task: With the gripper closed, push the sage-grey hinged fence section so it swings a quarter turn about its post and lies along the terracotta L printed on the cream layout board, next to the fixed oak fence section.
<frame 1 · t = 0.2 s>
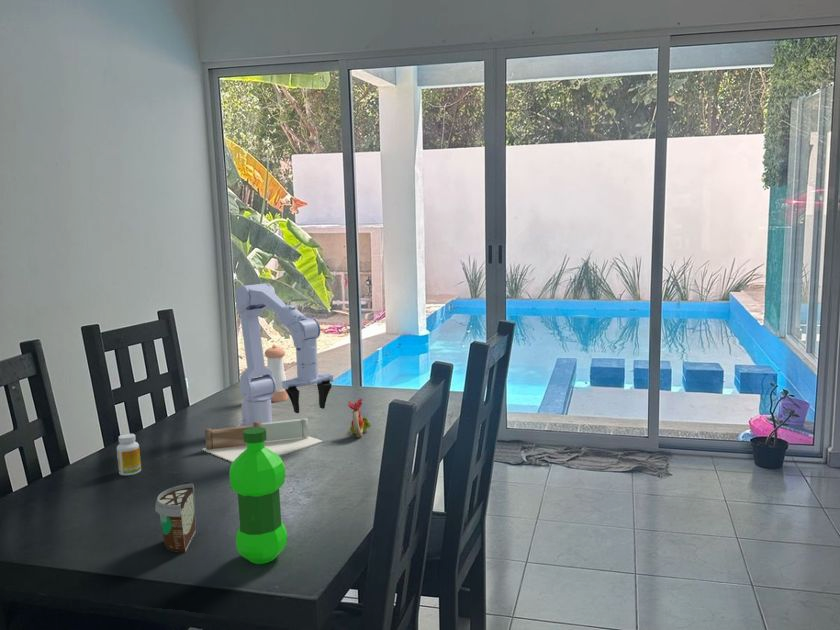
hand: (309, 410, 204), 10 cm above the table, tool pointing down, fingers open, 7 cm apart
plastic bottle: (262, 558, 139), on the table
supplement bottle: (130, 472, 187), on the table
food container: (175, 543, 146), on the table
pepper shaker: (277, 399, 256), on the table
layout board: (263, 446, 205), on the table
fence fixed: (258, 444, 206), resting on layout board
fence gate: (285, 429, 208), point 3 cm above the table, hinge at 0.0°
bird rattle: (359, 435, 212), on the table
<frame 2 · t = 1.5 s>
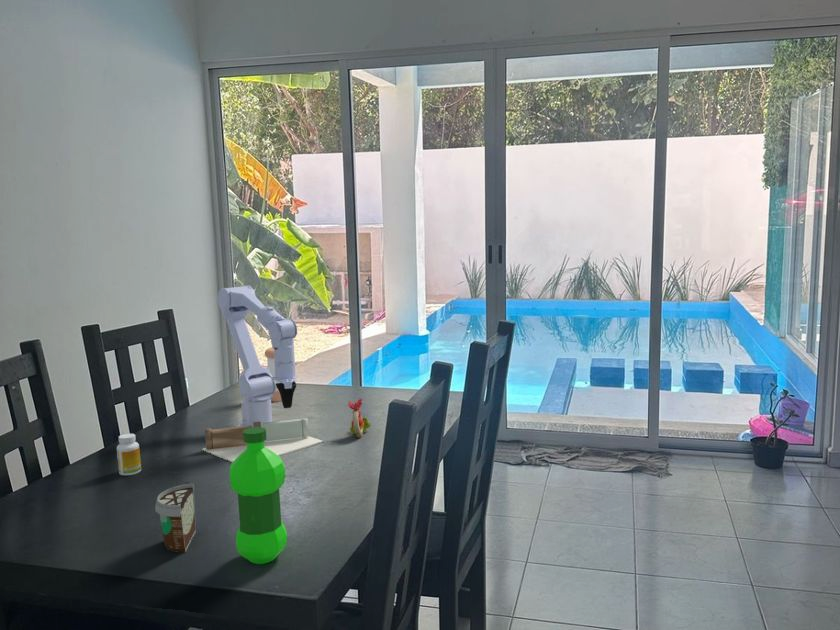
hand: (287, 407, 211), 9 cm above the table, tool pointing down, fingers closed
nothing on the table moved.
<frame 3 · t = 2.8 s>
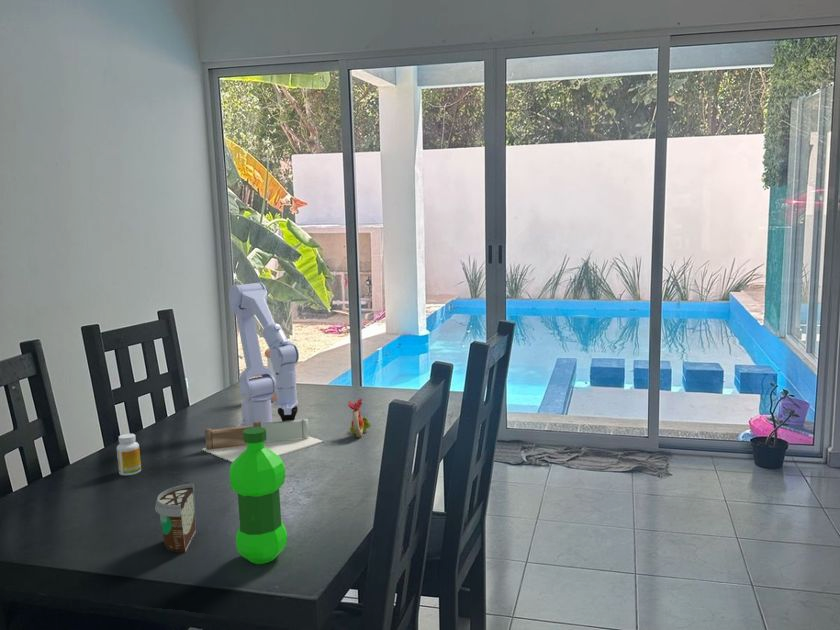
hand: (289, 432, 210), 2 cm above the table, tool pointing down, fingers closed
fence gate: (285, 430, 207), point 3 cm above the table, hinge at 3.2°, touching gripper
everything else where it was.
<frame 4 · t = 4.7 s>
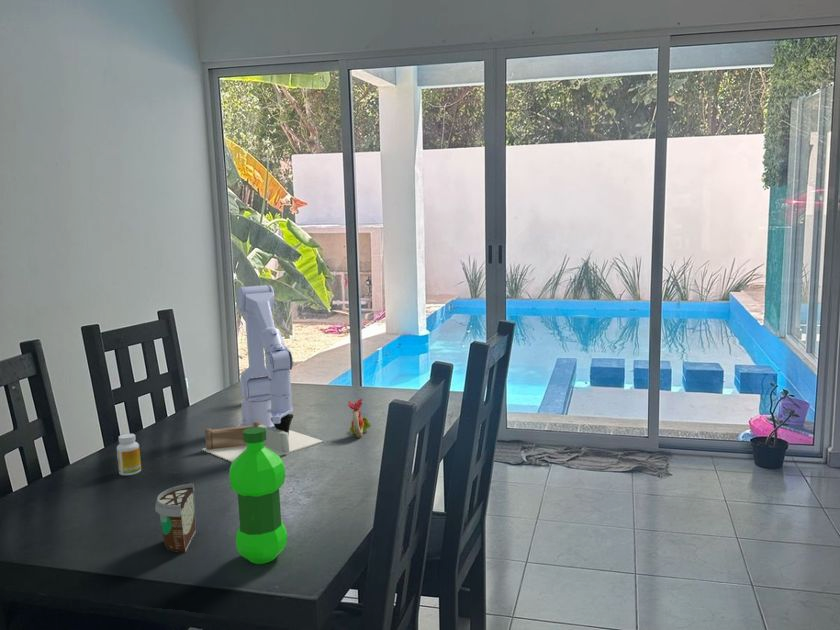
hand: (283, 441, 202), 2 cm above the table, tool pointing down, fingers closed
fence gate: (273, 438, 200), point 3 cm above the table, hinge at 60.1°, touching gripper
everything else where it was.
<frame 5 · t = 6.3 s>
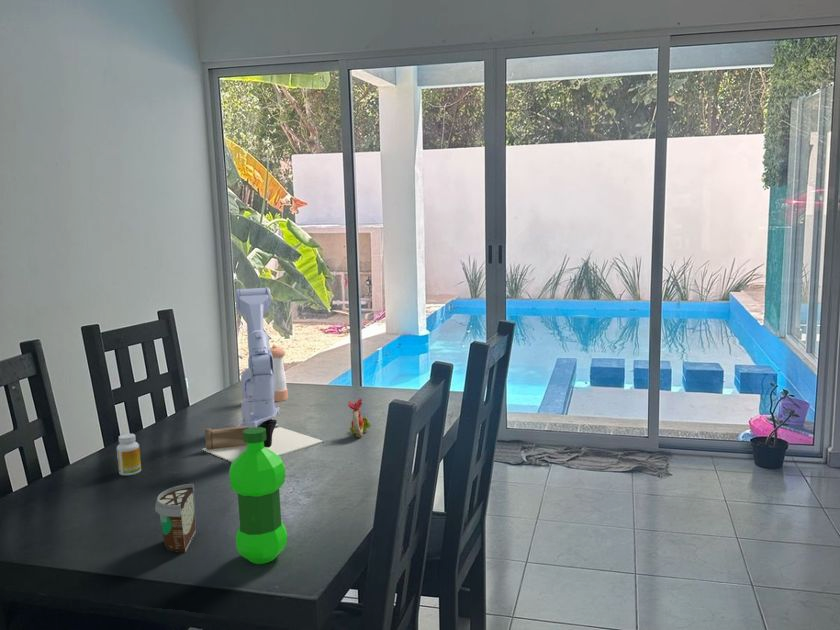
hand: (266, 446, 198), 2 cm above the table, tool pointing down, fingers closed, pressing on fence gate
fence gate: (255, 441, 198), point 3 cm above the table, hinge at 97.7°, touching gripper
everything else where it was.
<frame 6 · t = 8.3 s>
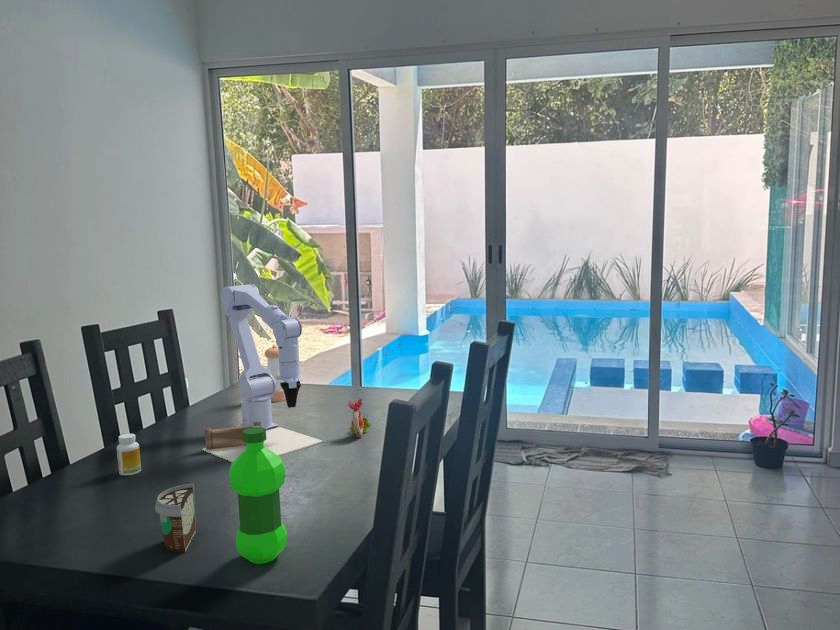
hand: (291, 406, 210), 9 cm above the table, tool pointing down, fingers closed
fence gate: (256, 441, 198), point 3 cm above the table, hinge at 95.9°
everything else where it was.
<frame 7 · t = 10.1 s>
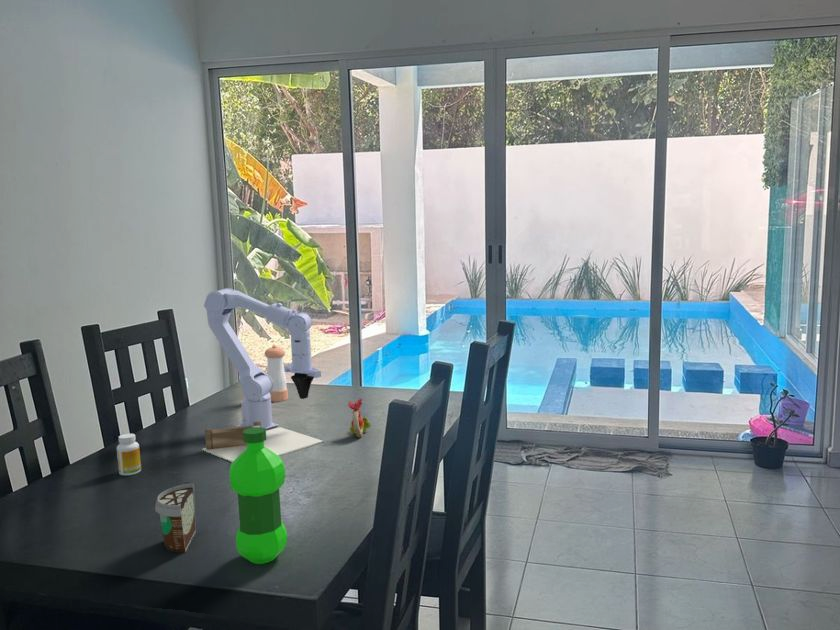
hand: (303, 398, 219), 9 cm above the table, tool pointing down, fingers closed
nothing on the table moved.
at the end: fence gate at +96° (first picture: +0°) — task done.
